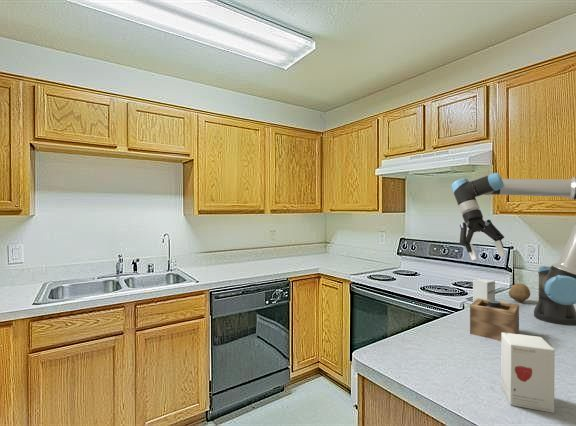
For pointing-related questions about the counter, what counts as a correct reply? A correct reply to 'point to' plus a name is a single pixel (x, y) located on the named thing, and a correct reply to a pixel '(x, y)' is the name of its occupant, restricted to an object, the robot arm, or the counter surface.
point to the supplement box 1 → (483, 289)
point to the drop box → (493, 319)
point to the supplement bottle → (494, 304)
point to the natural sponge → (519, 292)
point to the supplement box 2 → (527, 371)
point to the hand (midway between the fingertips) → (489, 257)
